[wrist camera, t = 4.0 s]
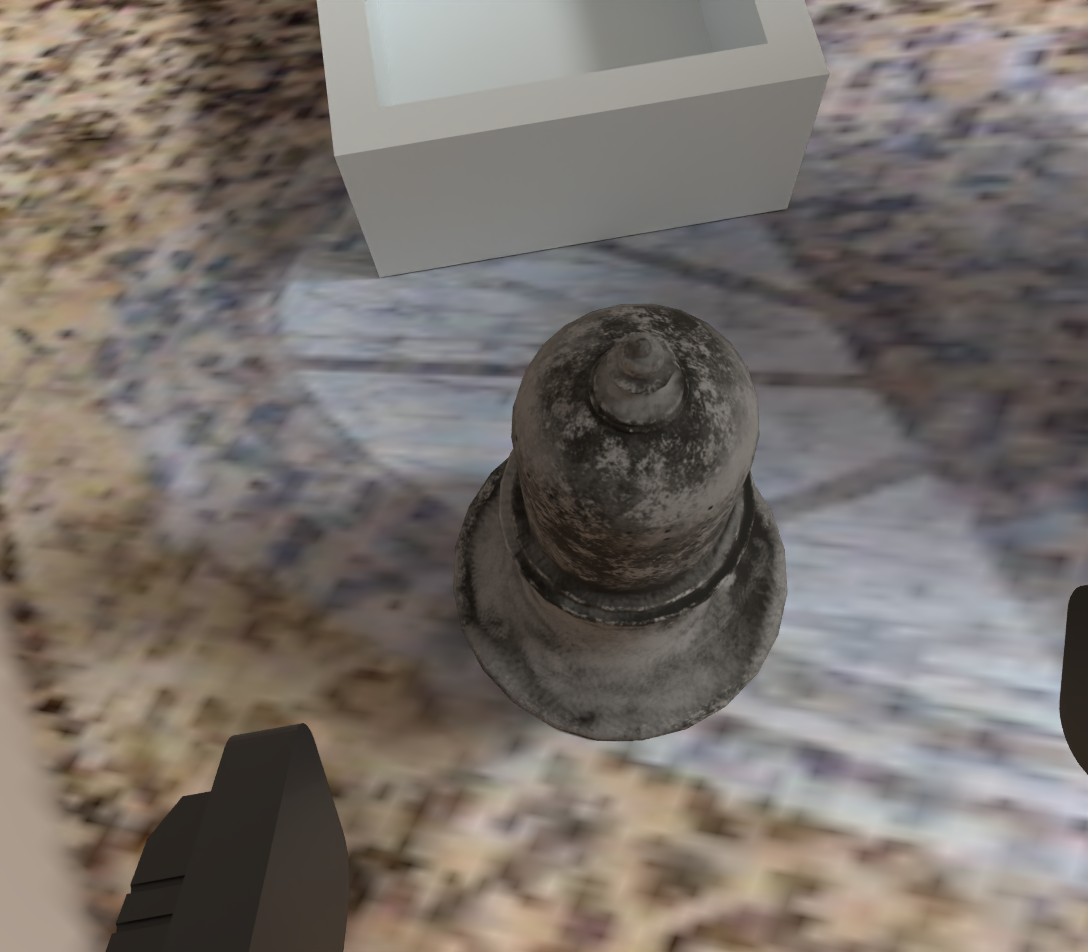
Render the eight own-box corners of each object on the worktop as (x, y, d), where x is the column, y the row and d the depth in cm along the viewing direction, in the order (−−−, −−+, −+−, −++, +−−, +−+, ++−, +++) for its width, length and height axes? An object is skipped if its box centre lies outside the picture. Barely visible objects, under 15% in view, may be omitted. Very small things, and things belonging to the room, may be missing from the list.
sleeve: (697, -90, 27) (716, -260, 23) (787, 208, 24) (829, 73, 20) (340, -32, 27) (295, -192, 23) (379, 277, 24) (333, 156, 20)
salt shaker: (417, 634, 21) (213, 393, 9) (589, 430, 22) (590, 10, 11) (642, 820, 19) (716, 797, 8) (811, 589, 21) (1075, 293, 9)
